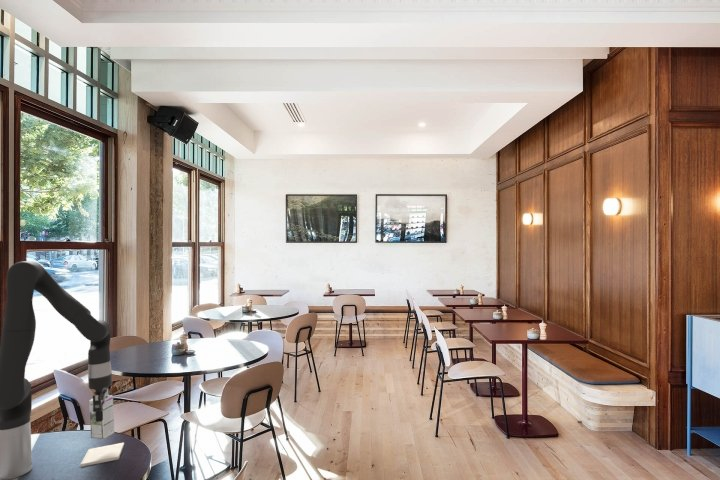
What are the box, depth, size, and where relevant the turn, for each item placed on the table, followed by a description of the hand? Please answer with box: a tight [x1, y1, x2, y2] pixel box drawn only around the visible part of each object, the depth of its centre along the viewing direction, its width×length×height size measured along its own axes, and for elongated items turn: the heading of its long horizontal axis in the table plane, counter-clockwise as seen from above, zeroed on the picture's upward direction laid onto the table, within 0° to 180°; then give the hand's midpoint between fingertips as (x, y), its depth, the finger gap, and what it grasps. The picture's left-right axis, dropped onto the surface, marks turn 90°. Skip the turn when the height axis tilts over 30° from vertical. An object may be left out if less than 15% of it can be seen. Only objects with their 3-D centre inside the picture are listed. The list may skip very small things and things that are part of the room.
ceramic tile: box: [80, 442, 125, 468], centre depth 155 cm, size 12×12×1 cm
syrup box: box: [88, 394, 116, 440], centre depth 155 cm, size 6×6×14 cm
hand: (102, 416), depth 155 cm, fingers closed on syrup box, 8 cm apart
